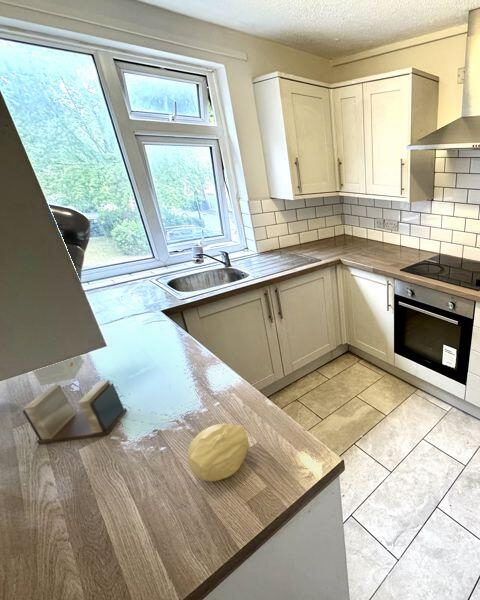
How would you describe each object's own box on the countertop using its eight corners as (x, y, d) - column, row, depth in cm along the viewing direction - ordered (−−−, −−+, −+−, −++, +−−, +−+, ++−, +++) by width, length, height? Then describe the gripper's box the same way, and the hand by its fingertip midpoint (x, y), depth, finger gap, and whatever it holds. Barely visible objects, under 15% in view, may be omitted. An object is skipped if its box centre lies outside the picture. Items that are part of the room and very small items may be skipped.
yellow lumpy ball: (210, 501, 68) (197, 464, 63) (184, 470, 74) (171, 434, 70) (260, 463, 76) (252, 428, 72) (233, 438, 83) (224, 405, 78)
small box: (53, 368, 84) (30, 323, 79) (85, 362, 87) (65, 318, 81) (39, 386, 78) (13, 339, 72) (74, 379, 80) (52, 332, 75)
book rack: (38, 444, 81) (17, 409, 76) (64, 418, 89) (47, 385, 84) (107, 435, 83) (91, 401, 79) (127, 410, 91) (113, 378, 87)
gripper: (11, 278, 78) (-9, 344, 72) (80, 274, 81) (66, 338, 75) (38, 290, 85) (22, 352, 79) (101, 286, 88) (90, 346, 82)
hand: (43, 345), depth 77 cm, fingers closed on small box, 7 cm apart
